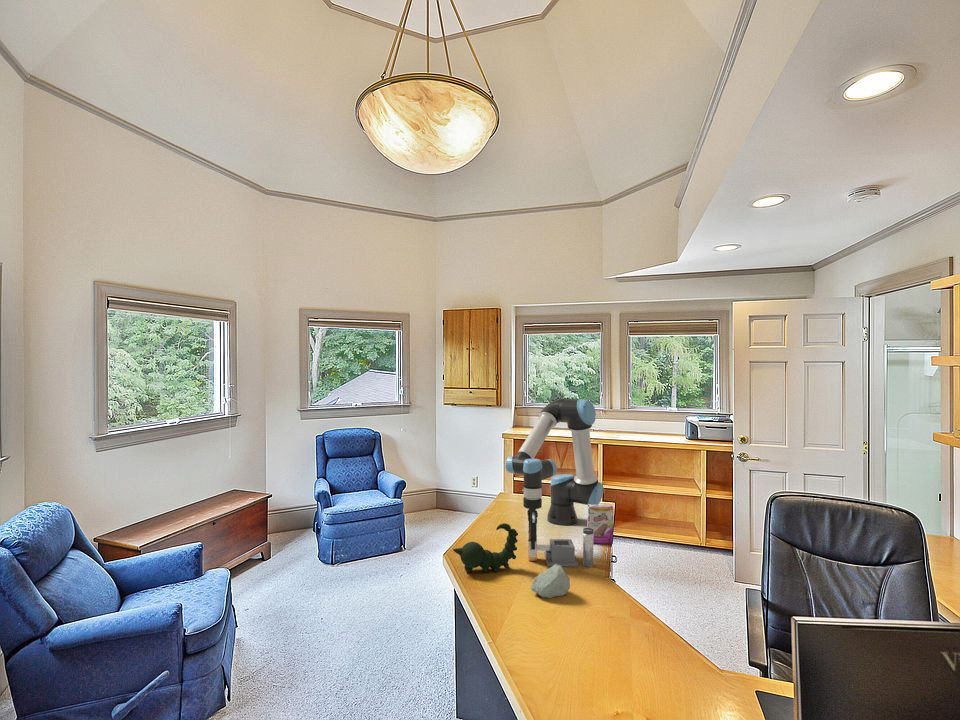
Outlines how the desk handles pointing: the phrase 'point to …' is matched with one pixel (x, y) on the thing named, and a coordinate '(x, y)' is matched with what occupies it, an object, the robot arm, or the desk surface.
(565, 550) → the dock
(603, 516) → the candy bar box
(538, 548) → the pin
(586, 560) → the peg
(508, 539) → the toy figurine
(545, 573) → the decorative stone
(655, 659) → the desk surface
